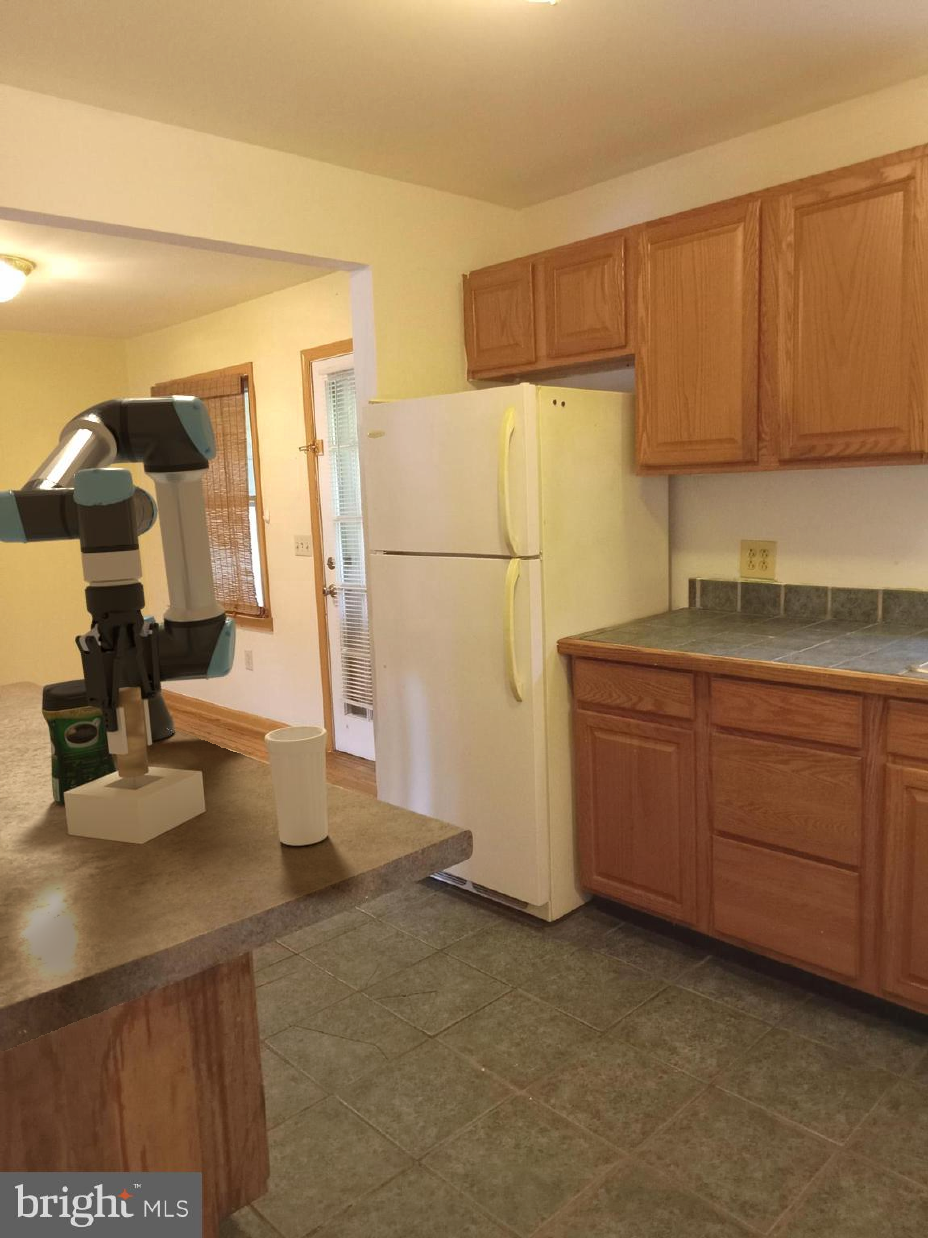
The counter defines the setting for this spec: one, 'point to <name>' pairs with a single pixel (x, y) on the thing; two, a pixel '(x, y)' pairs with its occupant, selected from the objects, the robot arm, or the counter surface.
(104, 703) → the robot arm
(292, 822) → the cup
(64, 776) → the coffee jar
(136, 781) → the socket block
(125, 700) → the dowel
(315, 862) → the counter surface
